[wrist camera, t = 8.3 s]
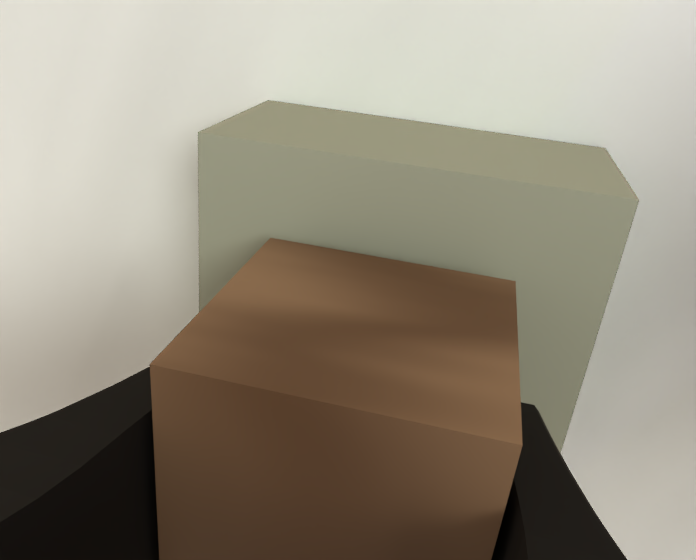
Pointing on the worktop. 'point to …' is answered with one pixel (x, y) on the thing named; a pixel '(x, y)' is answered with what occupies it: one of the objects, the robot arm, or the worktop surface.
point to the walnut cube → (338, 412)
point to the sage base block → (429, 217)
